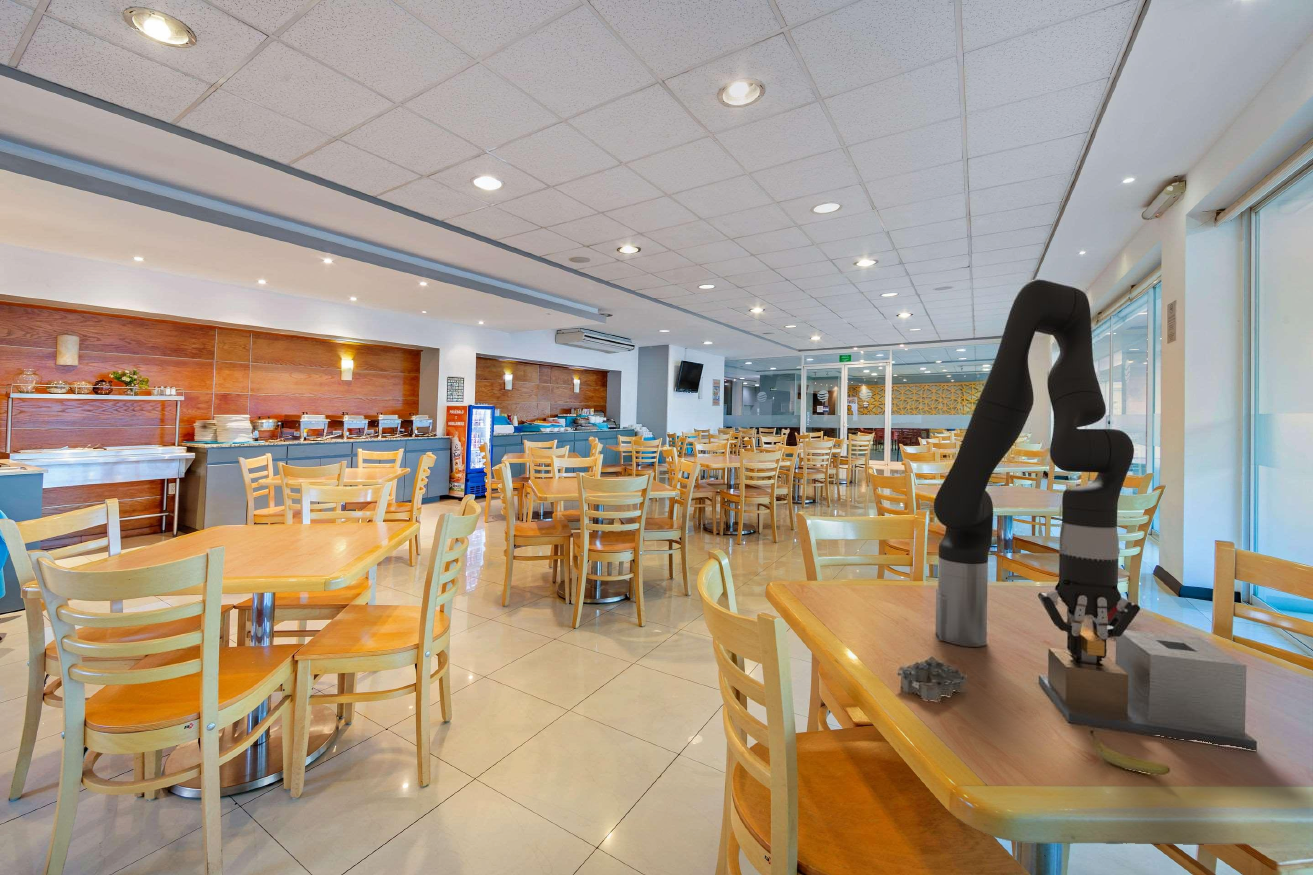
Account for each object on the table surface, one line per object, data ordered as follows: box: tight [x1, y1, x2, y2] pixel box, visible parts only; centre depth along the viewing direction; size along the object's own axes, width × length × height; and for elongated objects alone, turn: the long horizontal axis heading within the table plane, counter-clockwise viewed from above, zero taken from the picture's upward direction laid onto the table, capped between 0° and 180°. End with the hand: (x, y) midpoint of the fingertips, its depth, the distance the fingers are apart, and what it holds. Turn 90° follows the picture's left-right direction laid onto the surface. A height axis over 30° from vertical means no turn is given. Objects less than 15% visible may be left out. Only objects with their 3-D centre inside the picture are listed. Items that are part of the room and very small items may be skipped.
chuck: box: [1038, 629, 1258, 752], centre depth 86 cm, size 22×14×12 cm, turn 71°
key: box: [1076, 626, 1105, 665], centre depth 88 cm, size 7×2×8 cm, turn 161°
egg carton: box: [896, 656, 968, 701], centre depth 94 cm, size 11×8×4 cm
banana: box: [1088, 729, 1171, 776], centre depth 72 cm, size 8×2×4 cm, turn 50°
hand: (1085, 657), depth 88 cm, fingers closed on key, 2 cm apart
